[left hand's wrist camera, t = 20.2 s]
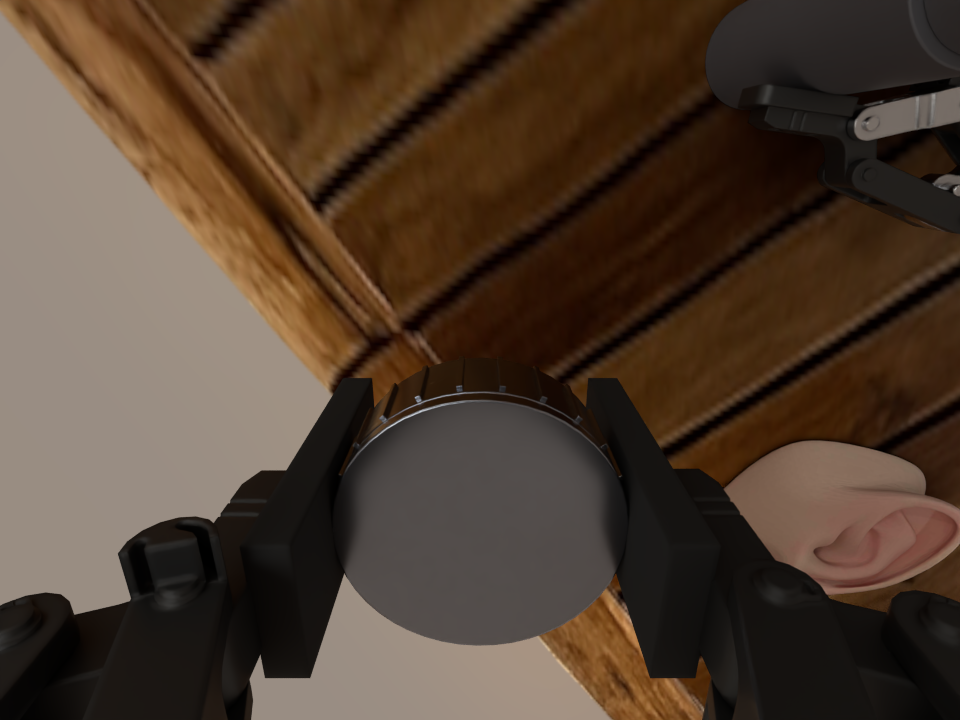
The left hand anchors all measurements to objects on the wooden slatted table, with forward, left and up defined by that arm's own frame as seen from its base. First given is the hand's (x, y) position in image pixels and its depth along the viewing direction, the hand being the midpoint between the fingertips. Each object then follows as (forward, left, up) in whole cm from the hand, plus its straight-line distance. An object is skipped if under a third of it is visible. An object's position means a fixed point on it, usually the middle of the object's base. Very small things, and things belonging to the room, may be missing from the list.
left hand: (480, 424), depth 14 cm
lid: (0, 0, +4) cm, 4 cm away
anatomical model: (-7, +26, -18) cm, 33 cm away
